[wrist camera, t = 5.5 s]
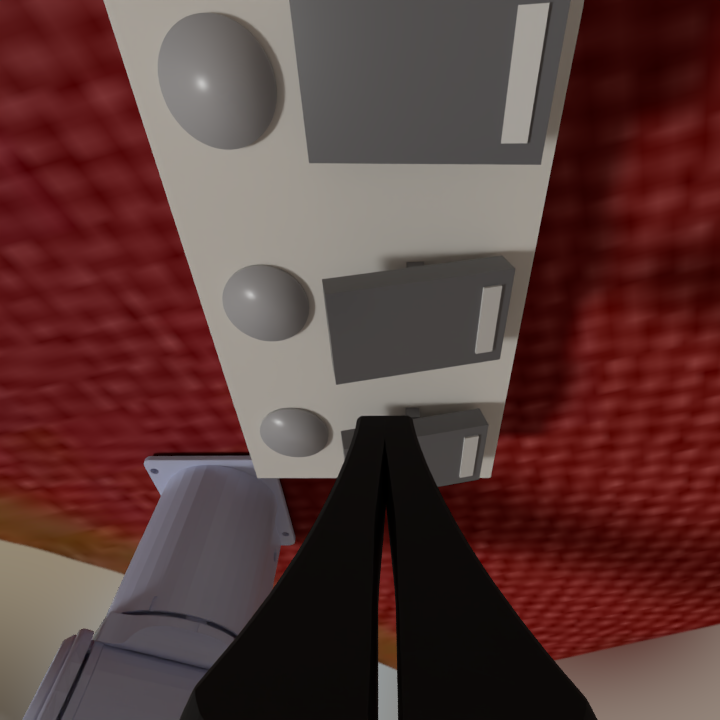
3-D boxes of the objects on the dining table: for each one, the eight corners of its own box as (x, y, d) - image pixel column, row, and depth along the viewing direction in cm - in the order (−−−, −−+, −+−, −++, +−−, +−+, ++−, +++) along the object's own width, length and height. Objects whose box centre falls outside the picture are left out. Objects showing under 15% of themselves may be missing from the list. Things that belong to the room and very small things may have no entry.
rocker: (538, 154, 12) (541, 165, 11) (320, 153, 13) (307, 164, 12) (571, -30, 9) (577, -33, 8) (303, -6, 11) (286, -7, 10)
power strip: (480, 433, 25) (492, 487, 22) (269, 435, 26) (254, 487, 23) (565, -105, 12) (622, -141, 9) (134, -65, 13) (62, -88, 10)
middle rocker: (488, 343, 17) (500, 360, 16) (332, 367, 16) (336, 386, 15) (502, 255, 15) (517, 269, 14) (321, 279, 14) (325, 296, 13)
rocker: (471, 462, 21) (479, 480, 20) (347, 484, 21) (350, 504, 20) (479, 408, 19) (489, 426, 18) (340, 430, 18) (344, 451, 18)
